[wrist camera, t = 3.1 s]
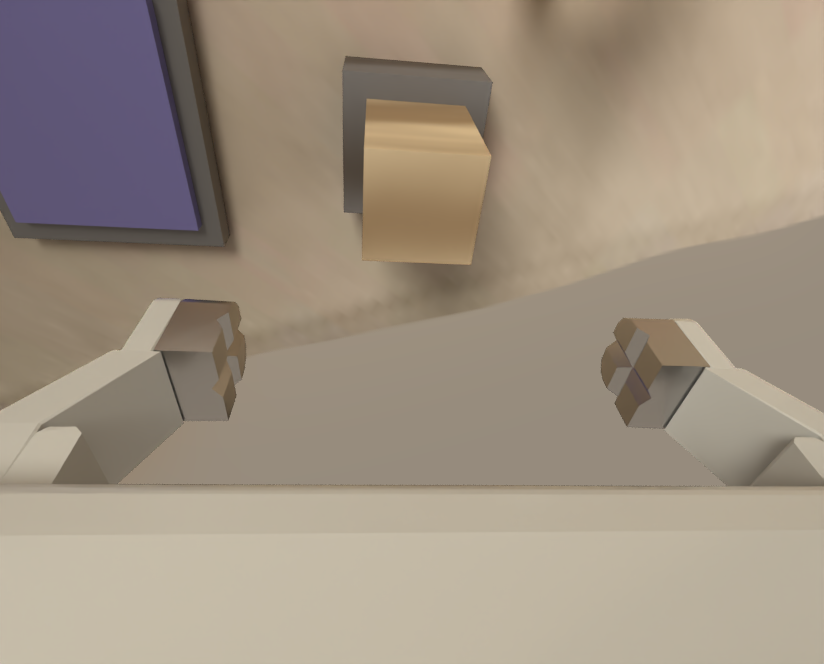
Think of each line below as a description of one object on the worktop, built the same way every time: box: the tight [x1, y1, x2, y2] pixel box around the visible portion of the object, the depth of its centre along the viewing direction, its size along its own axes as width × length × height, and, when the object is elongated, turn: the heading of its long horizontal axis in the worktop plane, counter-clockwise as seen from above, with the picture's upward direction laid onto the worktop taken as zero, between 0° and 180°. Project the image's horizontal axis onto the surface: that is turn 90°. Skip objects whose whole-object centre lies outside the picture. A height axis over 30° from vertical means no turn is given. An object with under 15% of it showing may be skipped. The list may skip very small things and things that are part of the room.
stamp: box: [343, 56, 493, 265], centre depth 16 cm, size 5×5×7 cm
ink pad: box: [0, 0, 230, 247], centre depth 17 cm, size 10×8×2 cm
